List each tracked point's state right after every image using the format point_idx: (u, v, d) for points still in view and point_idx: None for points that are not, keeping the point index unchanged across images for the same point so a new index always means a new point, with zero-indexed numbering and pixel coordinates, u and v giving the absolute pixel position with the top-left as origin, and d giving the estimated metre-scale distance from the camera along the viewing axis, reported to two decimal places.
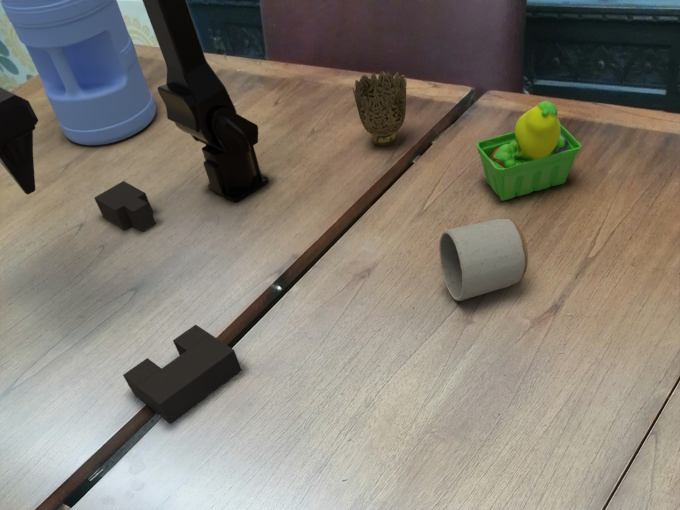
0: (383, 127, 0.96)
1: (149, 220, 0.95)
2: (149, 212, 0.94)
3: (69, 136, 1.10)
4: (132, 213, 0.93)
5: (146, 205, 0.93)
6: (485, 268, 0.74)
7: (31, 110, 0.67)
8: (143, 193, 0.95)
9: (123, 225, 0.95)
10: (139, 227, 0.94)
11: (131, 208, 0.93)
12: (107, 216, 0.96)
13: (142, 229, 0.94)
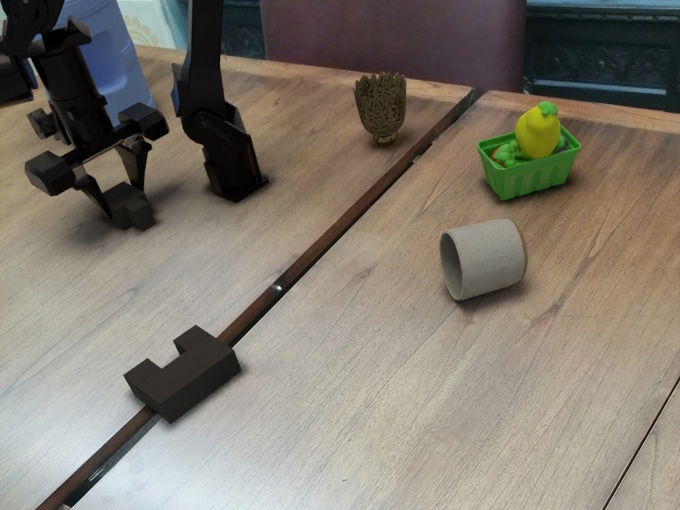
0: (383, 127, 0.96)
1: (149, 220, 0.95)
2: (149, 212, 0.94)
3: None
4: (132, 213, 0.93)
5: (146, 205, 0.93)
6: (485, 268, 0.74)
7: (49, 187, 0.85)
8: (143, 193, 0.95)
9: (123, 225, 0.95)
10: (139, 227, 0.94)
11: (131, 208, 0.93)
12: None
13: (142, 229, 0.94)
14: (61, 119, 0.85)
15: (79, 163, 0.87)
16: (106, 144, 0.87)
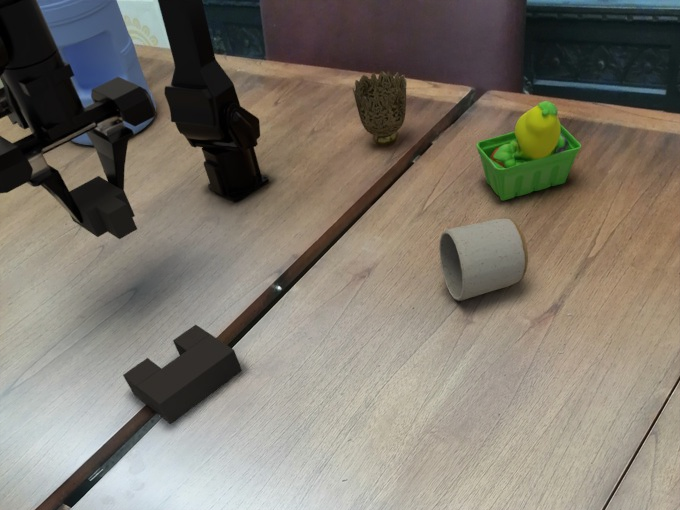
0: (383, 127, 0.96)
1: (128, 225, 0.75)
2: (128, 215, 0.75)
3: None
4: (106, 216, 0.74)
5: (124, 206, 0.74)
6: (485, 268, 0.74)
7: None
8: (122, 191, 0.75)
9: (96, 231, 0.76)
10: (116, 234, 0.75)
11: (105, 209, 0.73)
12: None
13: (119, 236, 0.75)
14: (14, 94, 0.66)
15: (37, 151, 0.68)
16: (73, 128, 0.68)
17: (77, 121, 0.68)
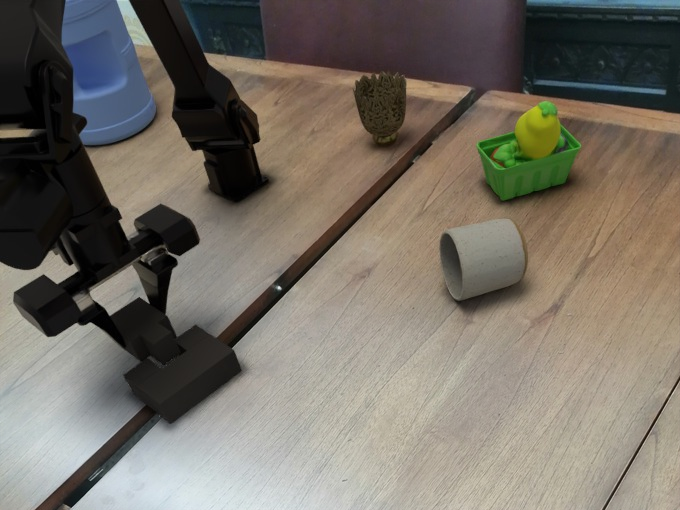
0: (383, 127, 0.96)
1: (173, 351, 0.74)
2: (173, 342, 0.74)
3: None
4: (151, 345, 0.73)
5: (169, 334, 0.73)
6: (485, 268, 0.74)
7: (46, 327, 0.65)
8: (165, 316, 0.74)
9: (139, 357, 0.75)
10: (160, 360, 0.74)
11: (150, 338, 0.72)
12: None
13: (164, 362, 0.74)
14: (61, 238, 0.65)
15: (85, 291, 0.67)
16: (120, 266, 0.67)
17: (124, 260, 0.67)
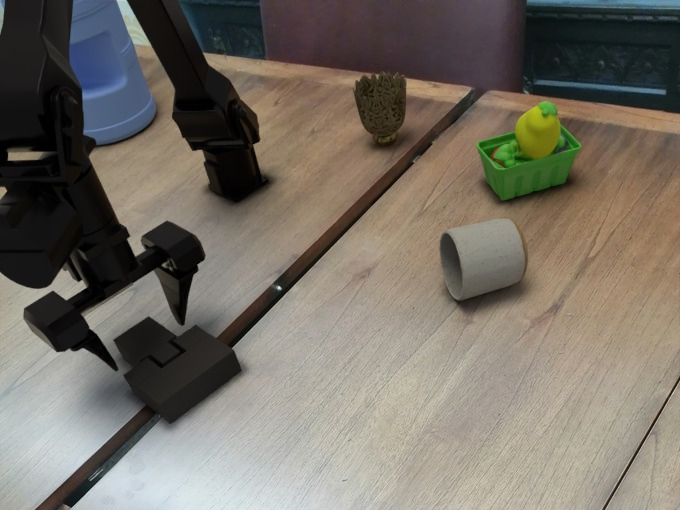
0: (383, 127, 0.96)
1: None
2: None
3: None
4: (161, 364, 0.75)
5: (178, 353, 0.75)
6: (485, 268, 0.74)
7: (55, 343, 0.66)
8: (174, 336, 0.77)
9: None
10: None
11: (159, 357, 0.75)
12: (129, 361, 0.78)
13: None
14: (70, 256, 0.66)
15: None
16: (127, 283, 0.69)
17: (132, 276, 0.69)
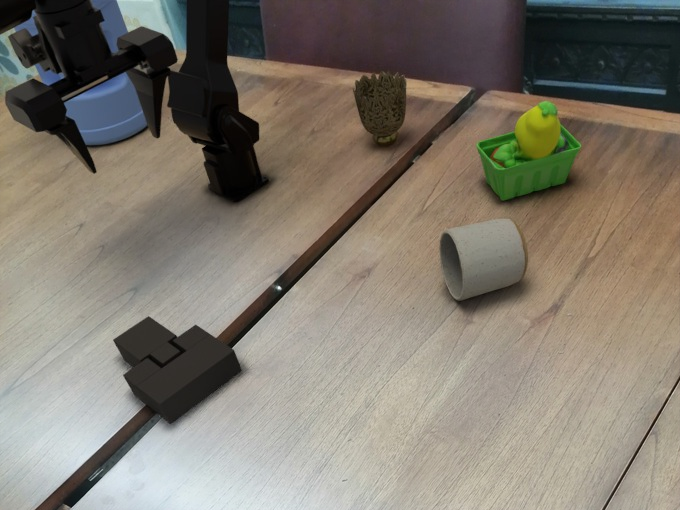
0: (383, 127, 0.96)
1: None
2: None
3: None
4: (161, 364, 0.75)
5: (178, 353, 0.75)
6: (485, 268, 0.74)
7: (34, 120, 0.71)
8: (174, 336, 0.77)
9: None
10: None
11: (159, 357, 0.75)
12: (129, 361, 0.78)
13: None
14: (49, 38, 0.71)
15: None
16: (103, 71, 0.73)
17: (106, 65, 0.73)
